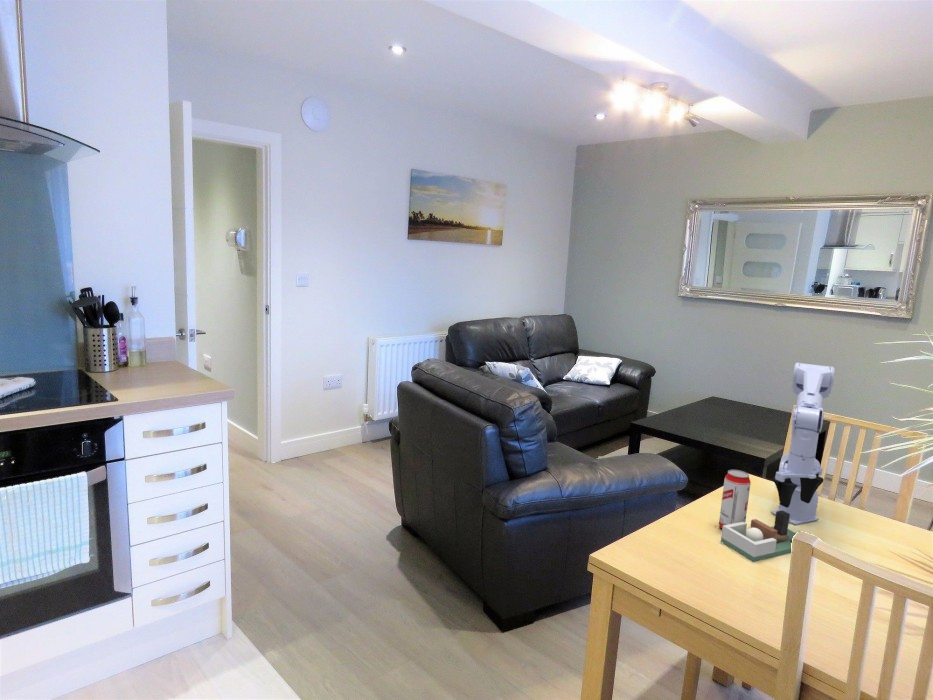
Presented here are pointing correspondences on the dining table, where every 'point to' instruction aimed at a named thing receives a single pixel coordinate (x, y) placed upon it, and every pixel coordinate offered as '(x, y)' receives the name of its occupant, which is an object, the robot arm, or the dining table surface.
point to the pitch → (754, 543)
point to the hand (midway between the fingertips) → (794, 503)
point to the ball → (754, 534)
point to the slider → (779, 527)
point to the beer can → (734, 498)
